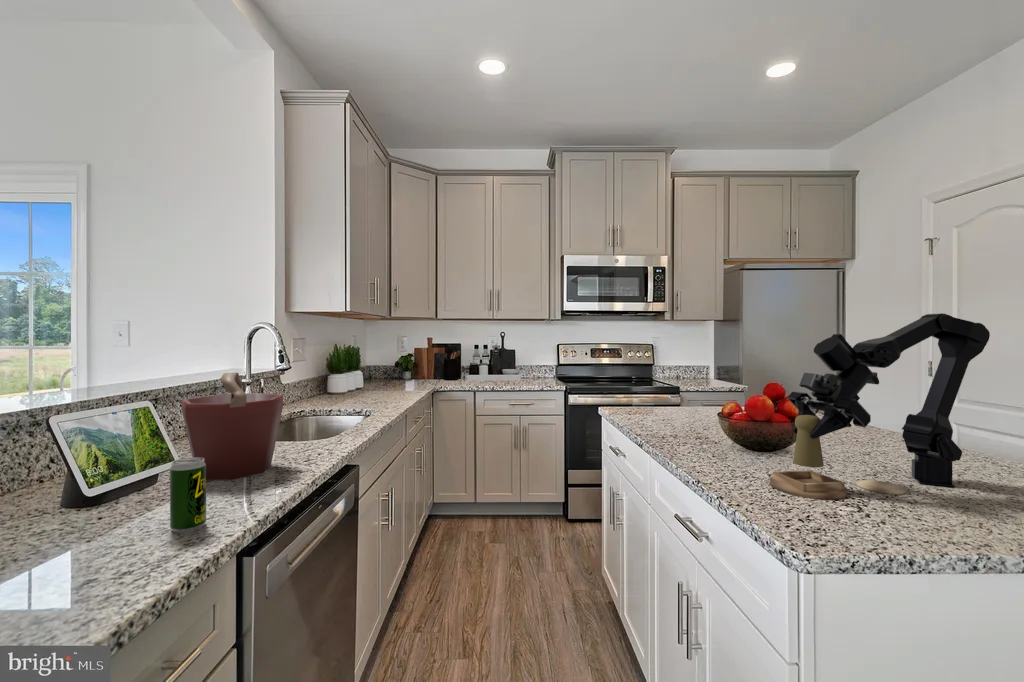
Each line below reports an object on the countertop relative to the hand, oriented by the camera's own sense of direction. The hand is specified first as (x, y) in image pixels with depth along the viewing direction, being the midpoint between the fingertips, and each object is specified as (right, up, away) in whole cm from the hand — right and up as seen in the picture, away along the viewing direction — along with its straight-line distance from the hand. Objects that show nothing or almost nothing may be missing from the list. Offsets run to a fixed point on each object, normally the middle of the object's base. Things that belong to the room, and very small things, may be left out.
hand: (802, 434), depth 109 cm
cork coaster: (+18, -12, +1) cm, 22 cm away
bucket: (-137, -12, +13) cm, 138 cm away
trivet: (+1, -12, 0) cm, 12 cm away
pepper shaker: (+1, -7, 0) cm, 7 cm away
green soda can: (-124, -12, -23) cm, 126 cm away
